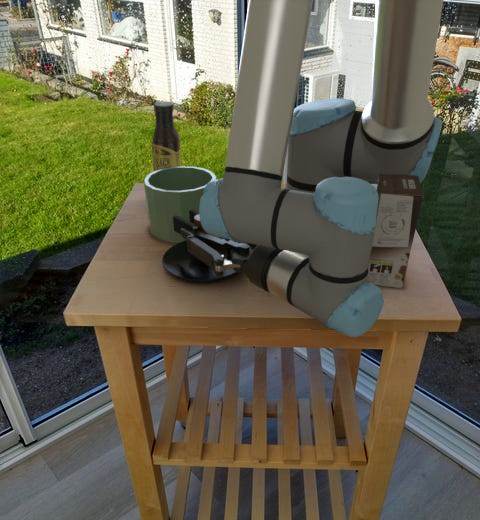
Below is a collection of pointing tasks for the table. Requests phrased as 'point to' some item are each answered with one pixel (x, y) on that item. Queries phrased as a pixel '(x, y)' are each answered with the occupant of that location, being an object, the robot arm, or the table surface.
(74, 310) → the table surface
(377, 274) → the coffee box
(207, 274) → the lid
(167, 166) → the sauce bottle
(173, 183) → the pot
